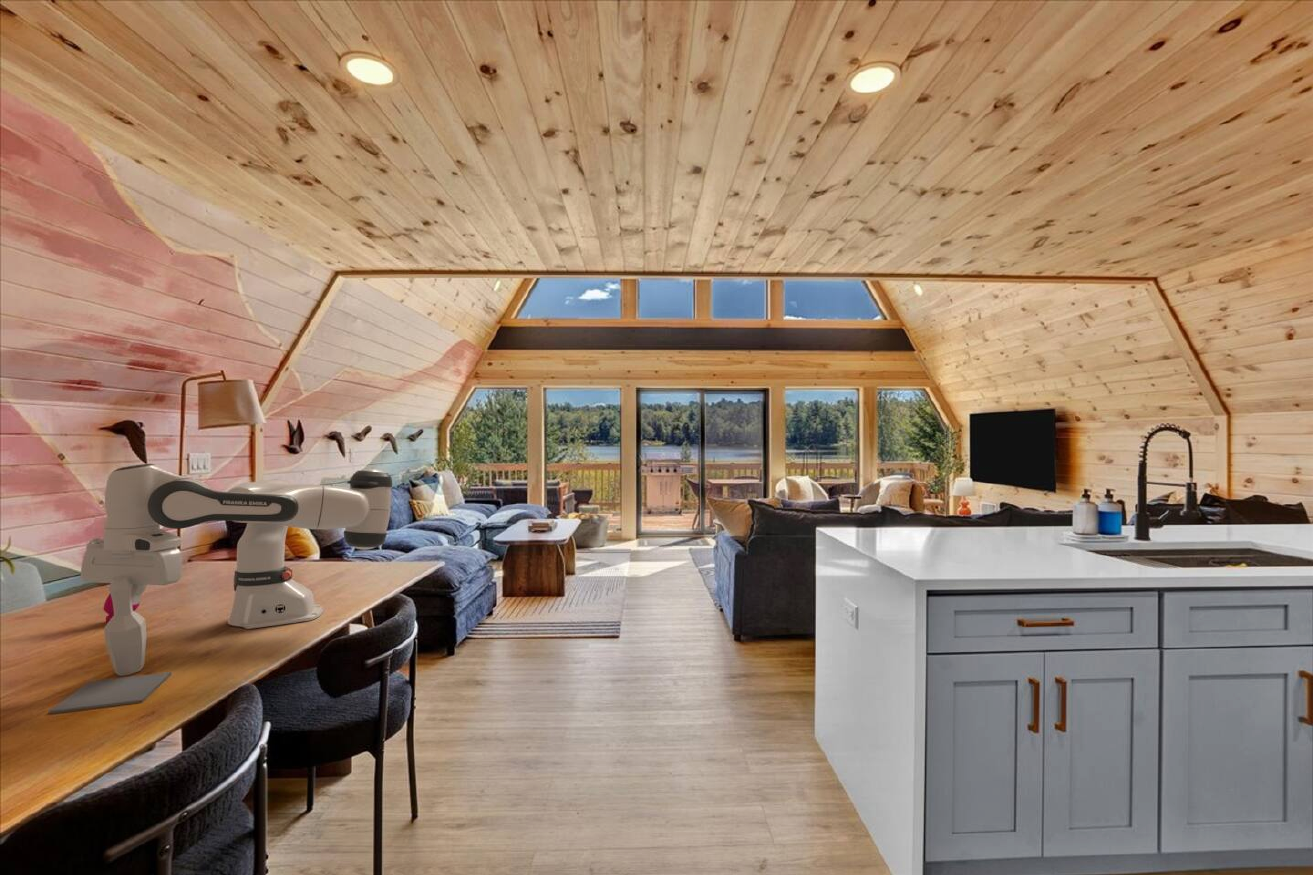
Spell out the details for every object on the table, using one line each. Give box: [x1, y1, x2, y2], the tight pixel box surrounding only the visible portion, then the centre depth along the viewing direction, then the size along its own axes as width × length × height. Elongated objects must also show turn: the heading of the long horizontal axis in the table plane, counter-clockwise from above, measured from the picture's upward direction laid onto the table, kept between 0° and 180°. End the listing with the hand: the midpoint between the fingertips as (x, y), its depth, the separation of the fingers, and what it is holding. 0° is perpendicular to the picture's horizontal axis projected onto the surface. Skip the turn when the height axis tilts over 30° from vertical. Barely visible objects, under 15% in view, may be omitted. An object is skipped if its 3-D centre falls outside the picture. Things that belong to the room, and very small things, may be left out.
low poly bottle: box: [103, 576, 148, 677], centre depth 120 cm, size 6×6×22 cm
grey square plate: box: [48, 671, 172, 715], centre depth 113 cm, size 14×14×1 cm
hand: (130, 603), depth 122 cm, fingers closed
